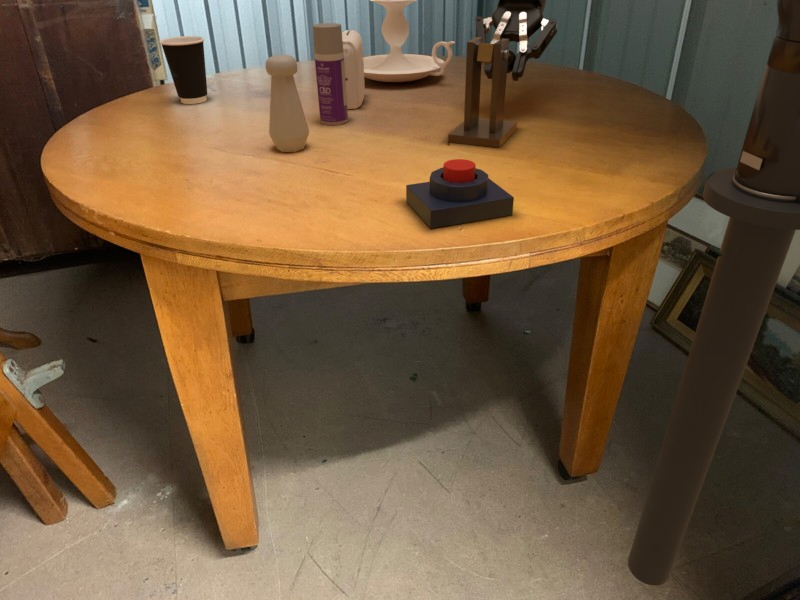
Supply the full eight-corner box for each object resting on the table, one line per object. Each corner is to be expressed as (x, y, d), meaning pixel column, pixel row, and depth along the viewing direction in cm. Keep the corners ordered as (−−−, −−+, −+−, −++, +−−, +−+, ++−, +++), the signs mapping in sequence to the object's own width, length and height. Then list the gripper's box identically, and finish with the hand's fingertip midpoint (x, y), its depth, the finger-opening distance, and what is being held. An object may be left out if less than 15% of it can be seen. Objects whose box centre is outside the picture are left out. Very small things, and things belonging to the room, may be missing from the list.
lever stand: (468, 124, 99) (472, 33, 91) (516, 129, 96) (524, 36, 89) (448, 142, 91) (450, 44, 84) (499, 147, 88) (506, 47, 81)
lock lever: (496, 73, 100) (499, 50, 99) (517, 75, 98) (520, 51, 97) (471, 65, 87) (474, 38, 86) (495, 66, 86) (499, 39, 85)
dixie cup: (223, 97, 117) (213, 37, 112) (197, 107, 111) (184, 44, 106) (191, 94, 120) (179, 35, 114) (163, 104, 114) (149, 41, 108)
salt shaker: (268, 144, 92) (256, 54, 85) (305, 140, 93) (296, 50, 86) (276, 156, 87) (263, 61, 80) (314, 151, 89) (305, 57, 82)
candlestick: (422, 98, 114) (422, -76, 99) (328, 82, 127) (315, -74, 112) (479, 78, 128) (487, -78, 113) (389, 65, 141) (385, -76, 126)
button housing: (482, 190, 75) (483, 159, 72) (512, 215, 68) (515, 181, 66) (406, 202, 72) (405, 170, 70) (430, 229, 65) (430, 194, 63)
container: (319, 125, 100) (310, 27, 92) (321, 118, 104) (313, 23, 96) (347, 124, 100) (341, 26, 92) (348, 117, 104) (342, 22, 96)
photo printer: (361, 109, 108) (357, 35, 101) (337, 109, 108) (332, 35, 102) (366, 95, 117) (363, 26, 110) (344, 95, 117) (340, 26, 110)
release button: (466, 171, 70) (467, 157, 69) (480, 182, 67) (481, 167, 66) (438, 175, 69) (438, 161, 68) (450, 186, 66) (451, 171, 65)
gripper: (481, -33, 98) (454, 60, 95) (569, -33, 93) (543, 65, 90) (489, -1, 105) (464, 87, 102) (571, 1, 100) (547, 93, 97)
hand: (501, 76), depth 96 cm, fingers closed on lock lever, 3 cm apart
